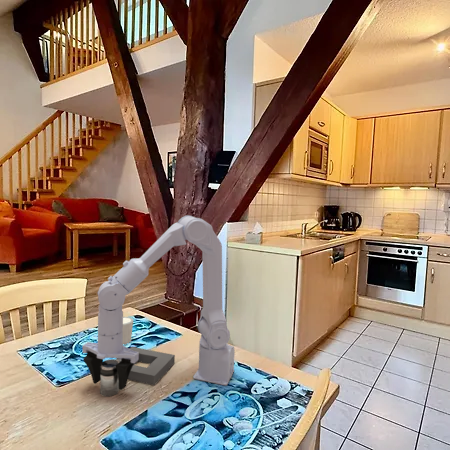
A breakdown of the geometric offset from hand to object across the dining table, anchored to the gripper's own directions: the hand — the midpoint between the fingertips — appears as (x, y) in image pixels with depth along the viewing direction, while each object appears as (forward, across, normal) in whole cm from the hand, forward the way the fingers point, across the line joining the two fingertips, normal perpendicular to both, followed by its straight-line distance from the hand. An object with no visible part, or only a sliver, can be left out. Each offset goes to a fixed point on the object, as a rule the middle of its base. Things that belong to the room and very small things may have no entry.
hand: (109, 384), depth 82 cm
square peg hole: (+2, +2, +12) cm, 12 cm away
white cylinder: (+2, -13, +25) cm, 28 cm away
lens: (+2, 0, 0) cm, 2 cm away
